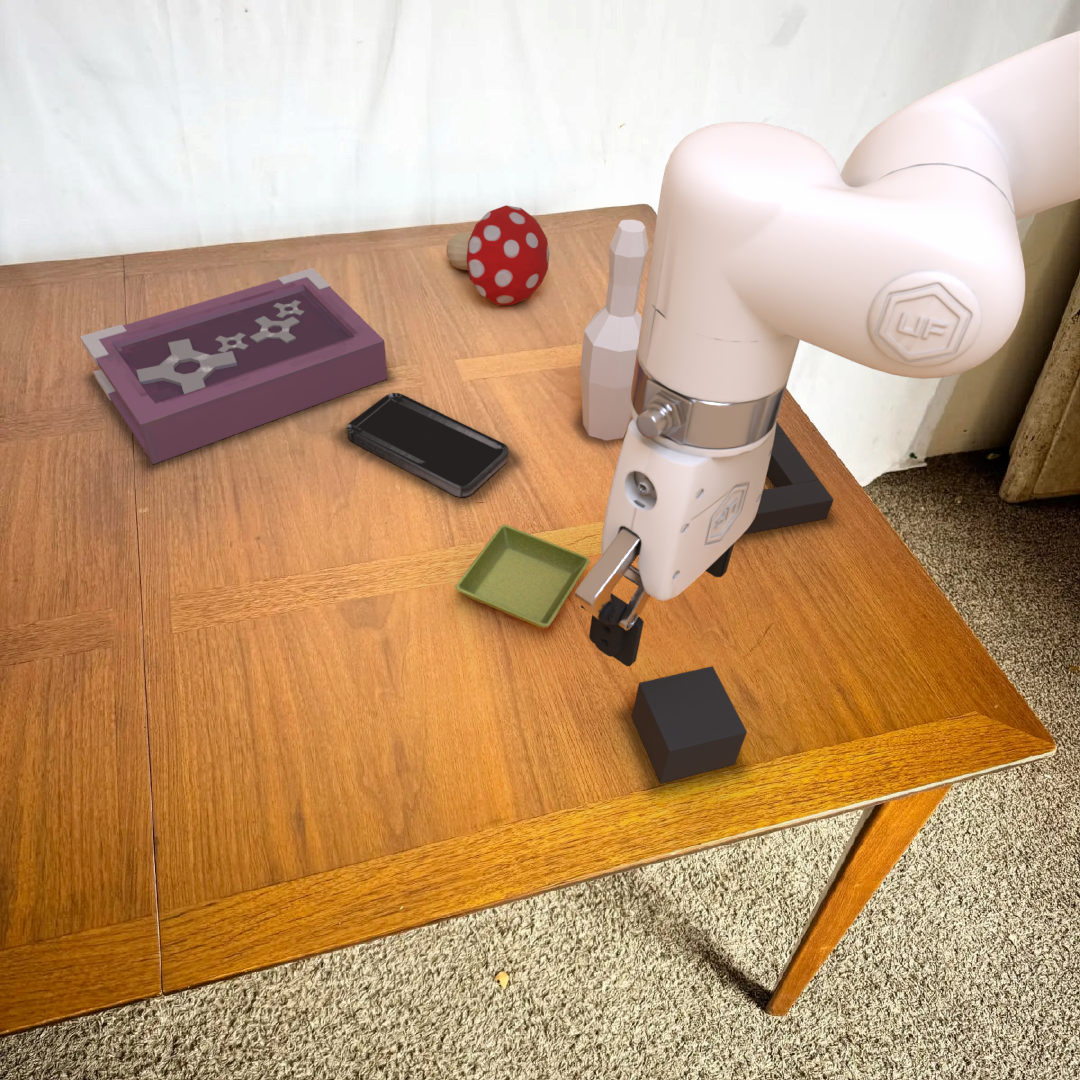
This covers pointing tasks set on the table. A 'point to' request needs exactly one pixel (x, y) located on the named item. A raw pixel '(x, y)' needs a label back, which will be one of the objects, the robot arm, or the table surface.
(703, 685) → the black square block
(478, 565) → the green square tray
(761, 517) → the frame pad
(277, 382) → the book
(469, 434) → the phone
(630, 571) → the robot arm
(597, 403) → the faceted bottle
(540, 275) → the decorative mushroom
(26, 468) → the table surface
